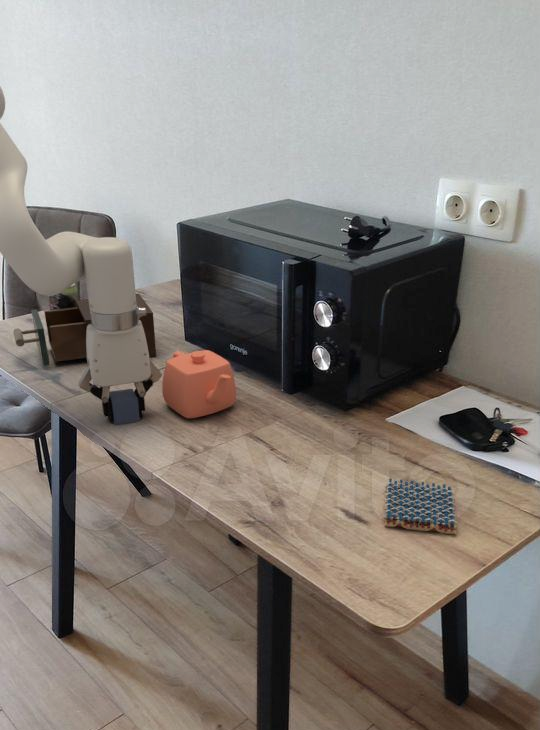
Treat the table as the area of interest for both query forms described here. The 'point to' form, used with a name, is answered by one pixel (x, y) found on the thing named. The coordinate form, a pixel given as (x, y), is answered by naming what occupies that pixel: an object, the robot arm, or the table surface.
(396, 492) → the woven mat
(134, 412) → the block
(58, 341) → the drawer
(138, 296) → the cabinet
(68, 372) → the table surface
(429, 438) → the table surface
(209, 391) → the teapot
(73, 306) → the beverage can
